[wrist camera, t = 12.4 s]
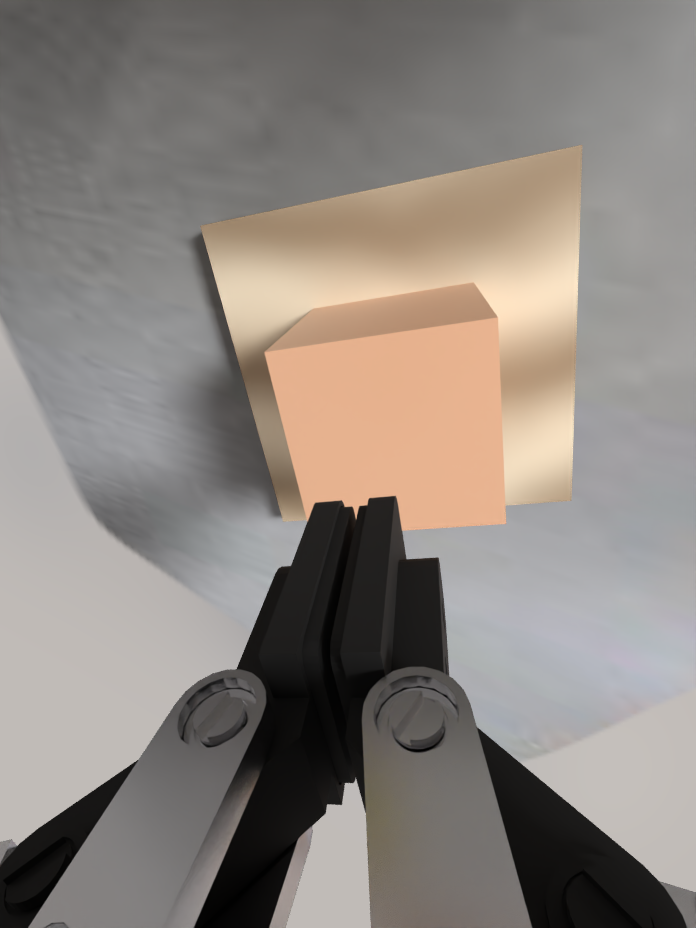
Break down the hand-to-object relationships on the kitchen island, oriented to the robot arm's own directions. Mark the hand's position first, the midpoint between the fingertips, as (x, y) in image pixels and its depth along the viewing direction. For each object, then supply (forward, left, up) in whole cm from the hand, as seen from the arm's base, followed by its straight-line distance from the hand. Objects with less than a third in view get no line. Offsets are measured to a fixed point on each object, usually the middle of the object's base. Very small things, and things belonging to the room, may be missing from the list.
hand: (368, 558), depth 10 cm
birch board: (0, 0, -13) cm, 13 cm away
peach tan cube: (0, 0, -12) cm, 12 cm away
